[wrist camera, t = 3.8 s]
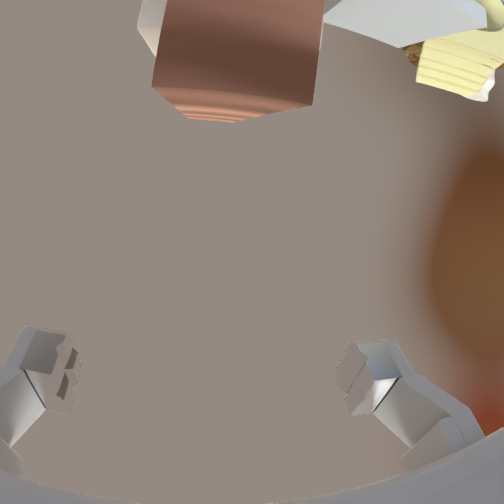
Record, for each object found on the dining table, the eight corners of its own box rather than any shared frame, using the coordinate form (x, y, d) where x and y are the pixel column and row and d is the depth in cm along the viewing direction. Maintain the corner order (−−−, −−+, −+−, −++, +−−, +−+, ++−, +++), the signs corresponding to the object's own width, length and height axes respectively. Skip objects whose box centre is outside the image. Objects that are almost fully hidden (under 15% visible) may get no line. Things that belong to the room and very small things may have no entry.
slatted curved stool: (480, 35, 45) (479, 100, 51) (418, 16, 50) (415, 81, 56) (521, -19, 18) (532, 71, 25) (431, -51, 23) (435, 35, 30)
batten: (178, -45, 6) (151, 86, 7) (326, -22, 7) (312, 105, 8) (193, 76, 28) (188, 118, 29) (238, 80, 29) (232, 122, 30)
